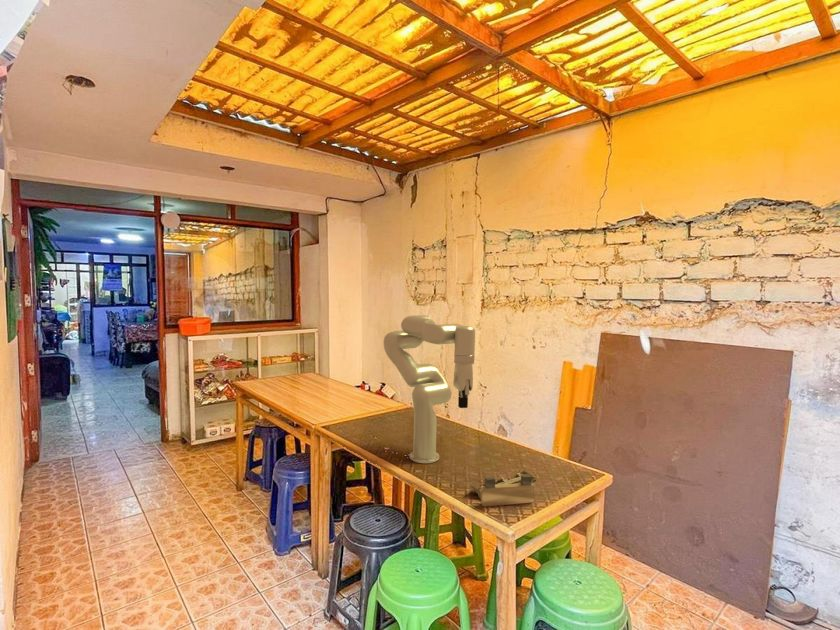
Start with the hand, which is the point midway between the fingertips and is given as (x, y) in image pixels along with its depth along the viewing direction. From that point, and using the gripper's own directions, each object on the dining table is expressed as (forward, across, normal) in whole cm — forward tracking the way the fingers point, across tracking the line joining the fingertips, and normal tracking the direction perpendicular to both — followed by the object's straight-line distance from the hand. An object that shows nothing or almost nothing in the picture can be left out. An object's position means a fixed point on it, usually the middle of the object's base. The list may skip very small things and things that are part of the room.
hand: (462, 407), depth 159 cm
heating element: (+28, +10, +13) cm, 32 cm away
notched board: (+27, +21, +10) cm, 36 cm away
